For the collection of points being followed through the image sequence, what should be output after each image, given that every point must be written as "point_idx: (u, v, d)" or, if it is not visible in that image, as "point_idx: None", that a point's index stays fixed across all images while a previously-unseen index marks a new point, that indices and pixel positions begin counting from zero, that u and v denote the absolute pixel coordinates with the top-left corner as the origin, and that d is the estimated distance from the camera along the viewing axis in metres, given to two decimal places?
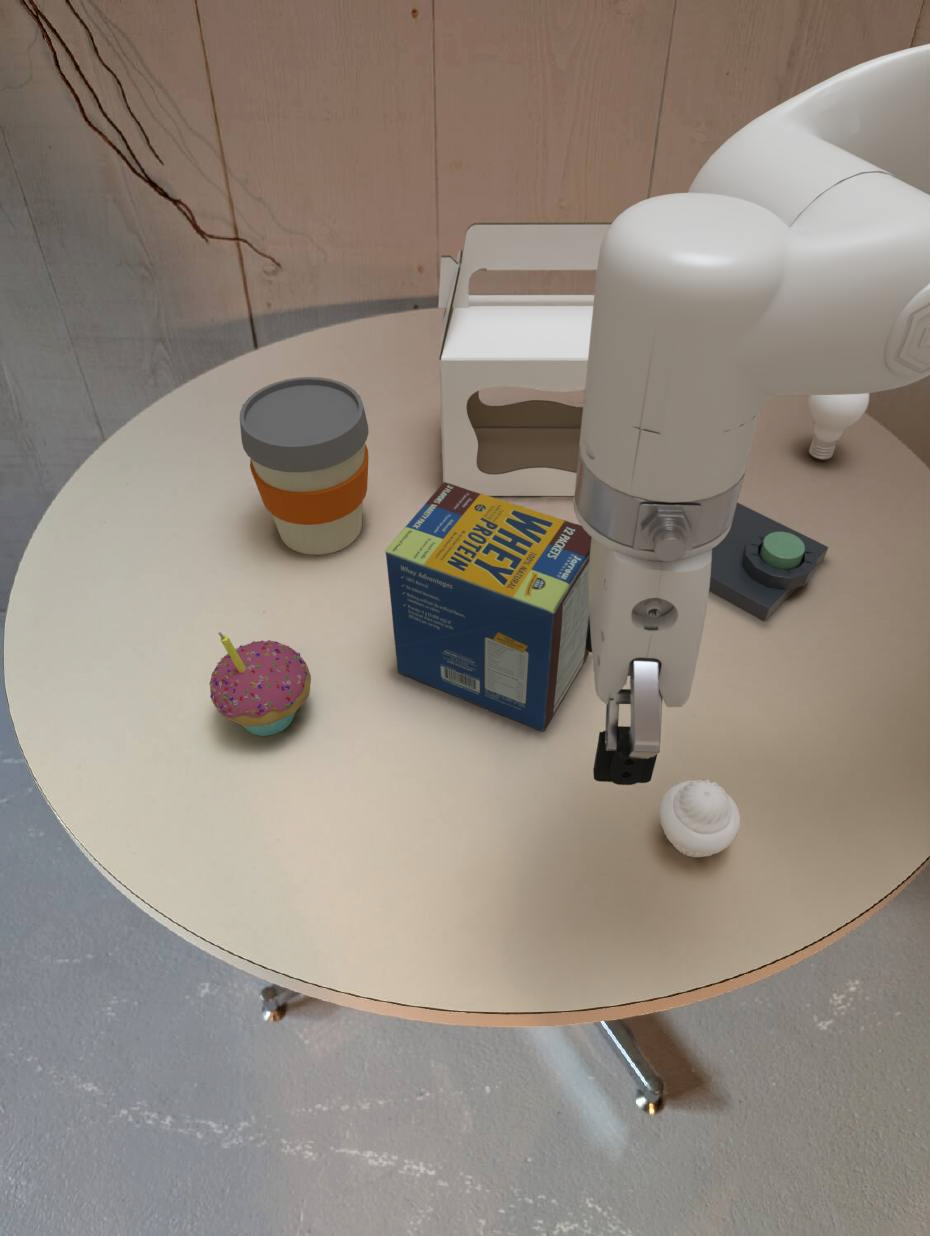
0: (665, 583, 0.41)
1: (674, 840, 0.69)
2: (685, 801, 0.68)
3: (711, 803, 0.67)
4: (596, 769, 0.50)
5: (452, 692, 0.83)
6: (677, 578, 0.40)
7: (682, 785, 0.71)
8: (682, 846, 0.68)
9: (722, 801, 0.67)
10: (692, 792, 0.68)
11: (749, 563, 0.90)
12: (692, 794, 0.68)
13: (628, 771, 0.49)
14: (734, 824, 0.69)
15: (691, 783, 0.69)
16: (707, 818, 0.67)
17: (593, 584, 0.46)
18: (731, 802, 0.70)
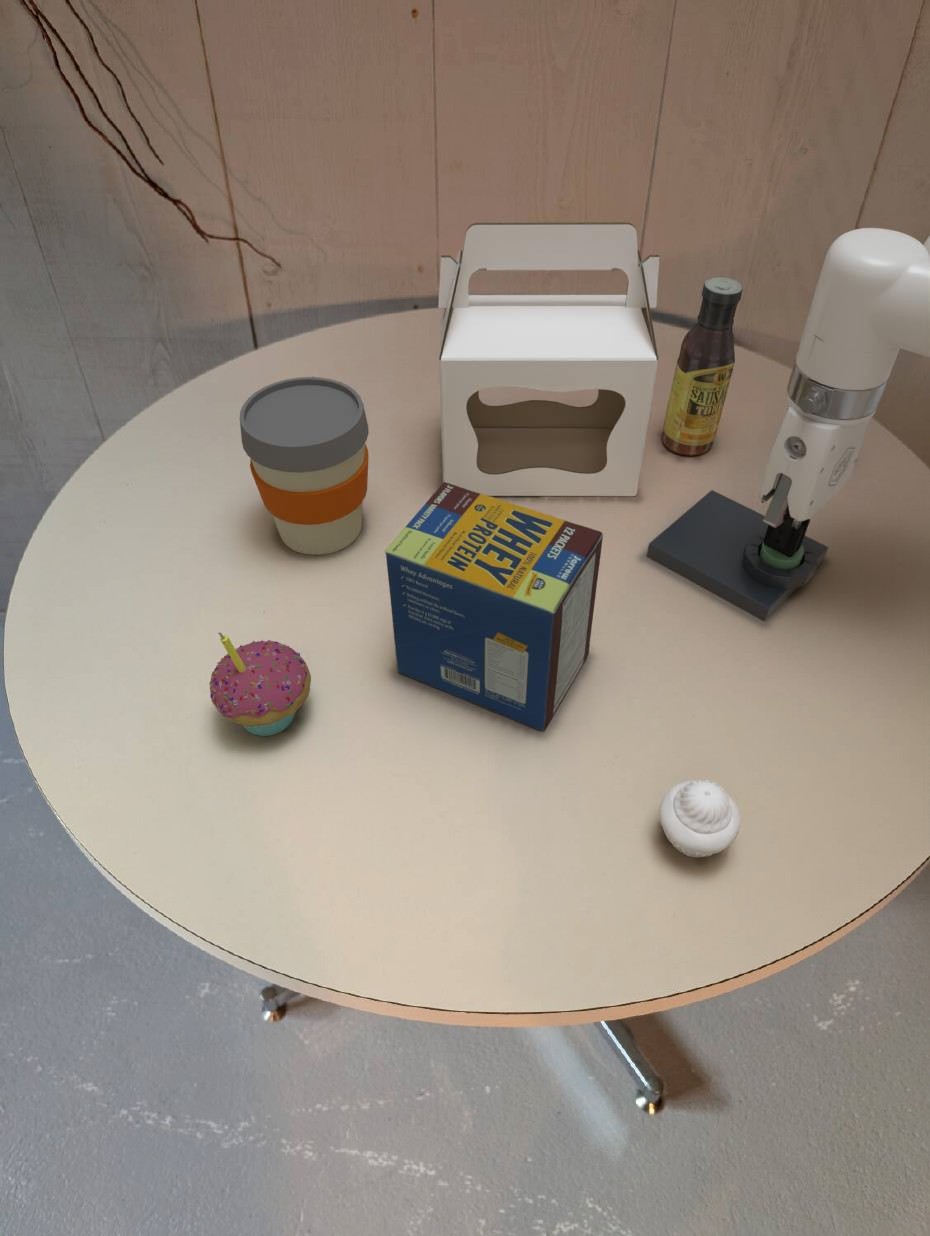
0: (805, 429, 0.76)
1: (674, 840, 0.69)
2: (685, 801, 0.68)
3: (711, 803, 0.67)
4: (766, 535, 0.89)
5: (452, 692, 0.83)
6: (811, 428, 0.75)
7: (682, 785, 0.71)
8: (682, 846, 0.68)
9: (722, 801, 0.67)
10: (692, 792, 0.68)
11: (749, 563, 0.90)
12: (692, 794, 0.68)
13: (779, 538, 0.88)
14: (734, 824, 0.69)
15: (691, 783, 0.69)
16: (707, 818, 0.67)
17: None
18: (731, 802, 0.70)
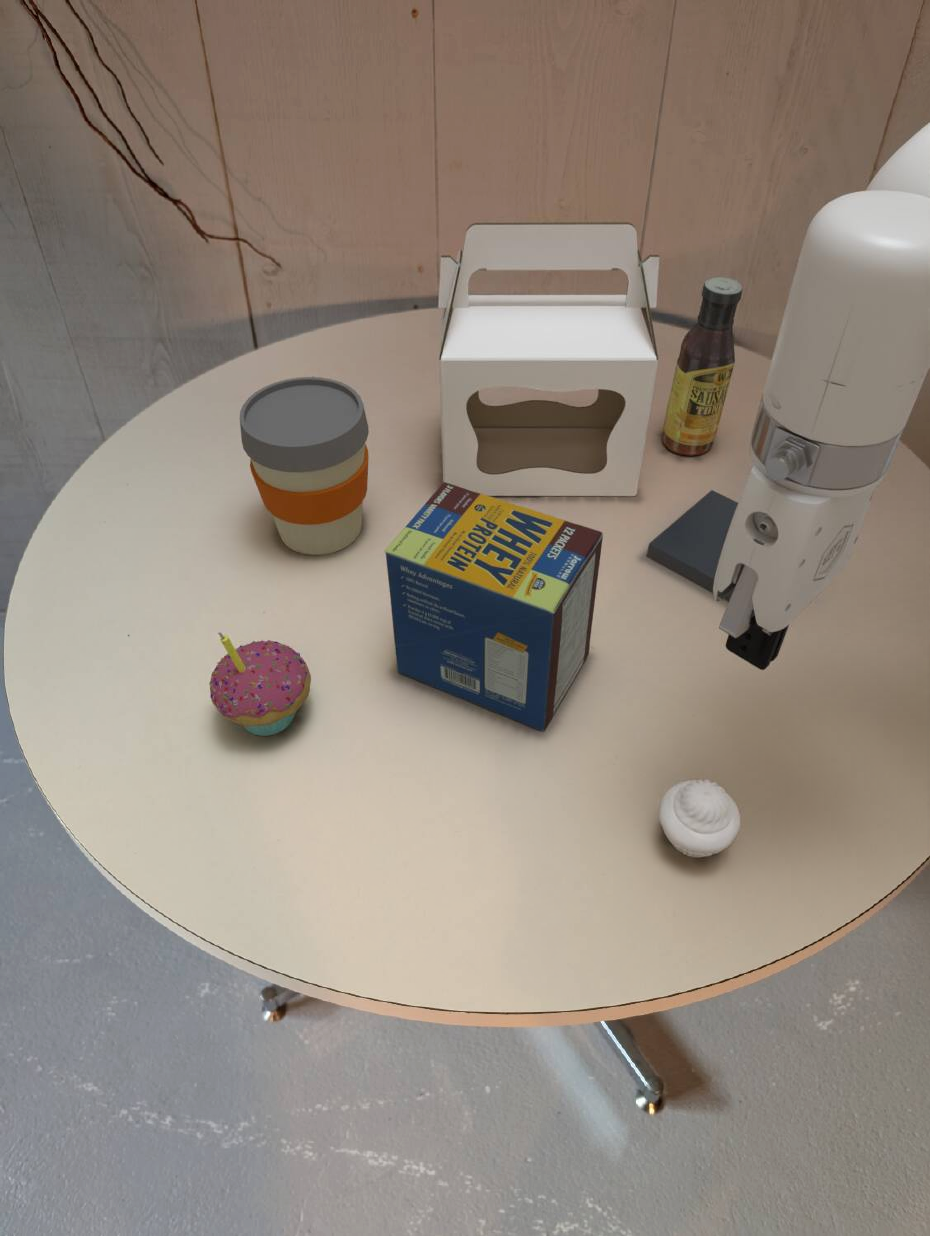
0: (775, 503, 0.49)
1: (674, 840, 0.69)
2: (685, 801, 0.68)
3: (711, 803, 0.67)
4: (728, 637, 0.63)
5: (452, 692, 0.83)
6: (785, 502, 0.49)
7: (682, 785, 0.71)
8: (682, 846, 0.68)
9: (722, 801, 0.67)
10: (692, 792, 0.68)
11: None
12: (692, 794, 0.68)
13: (746, 645, 0.61)
14: (734, 824, 0.69)
15: (691, 783, 0.69)
16: (707, 818, 0.67)
17: None
18: (731, 802, 0.70)
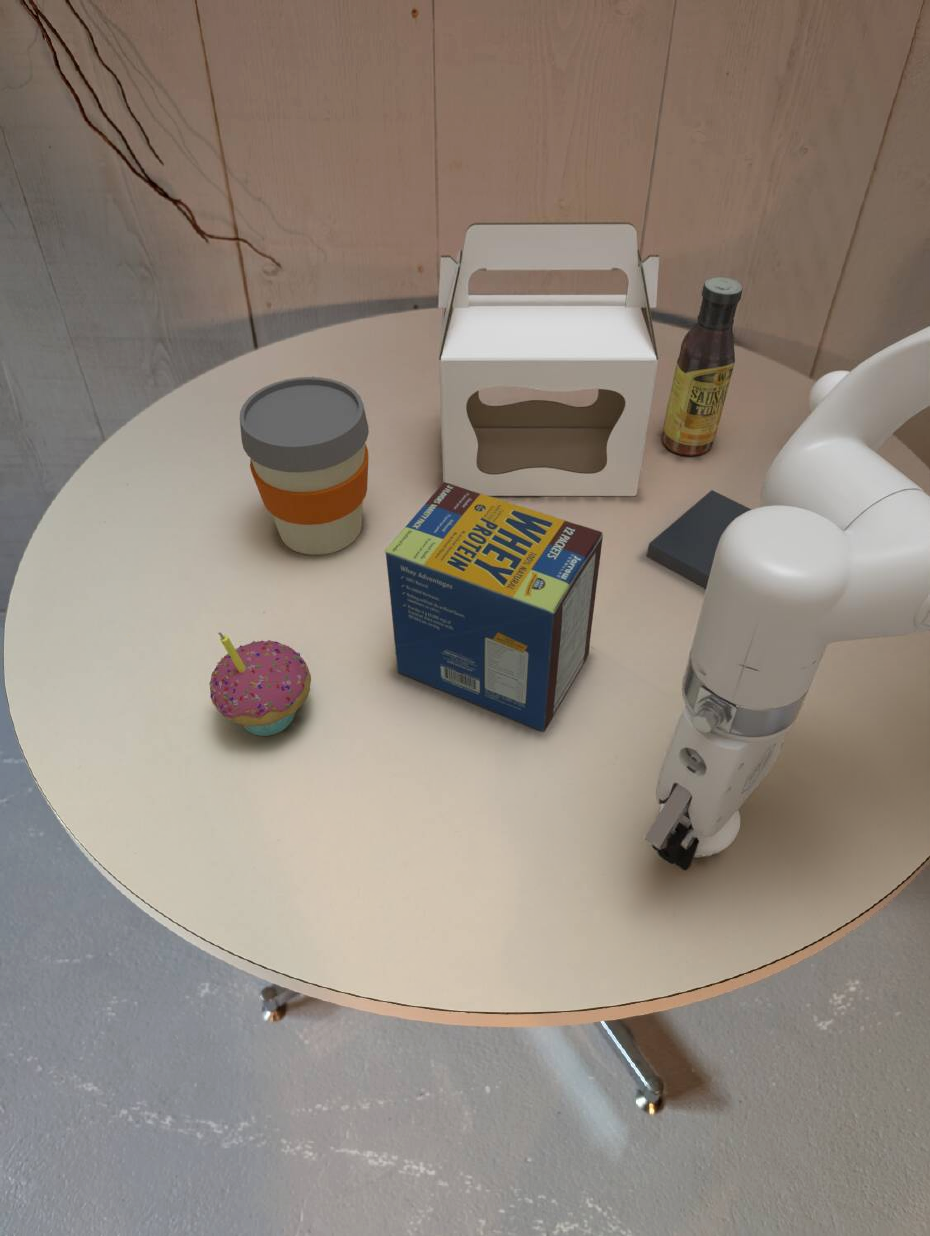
0: (703, 744, 0.57)
1: None
2: None
3: None
4: None
5: (452, 692, 0.83)
6: (710, 746, 0.57)
7: None
8: None
9: None
10: None
11: None
12: None
13: (668, 852, 0.67)
14: (734, 824, 0.69)
15: None
16: None
17: None
18: None
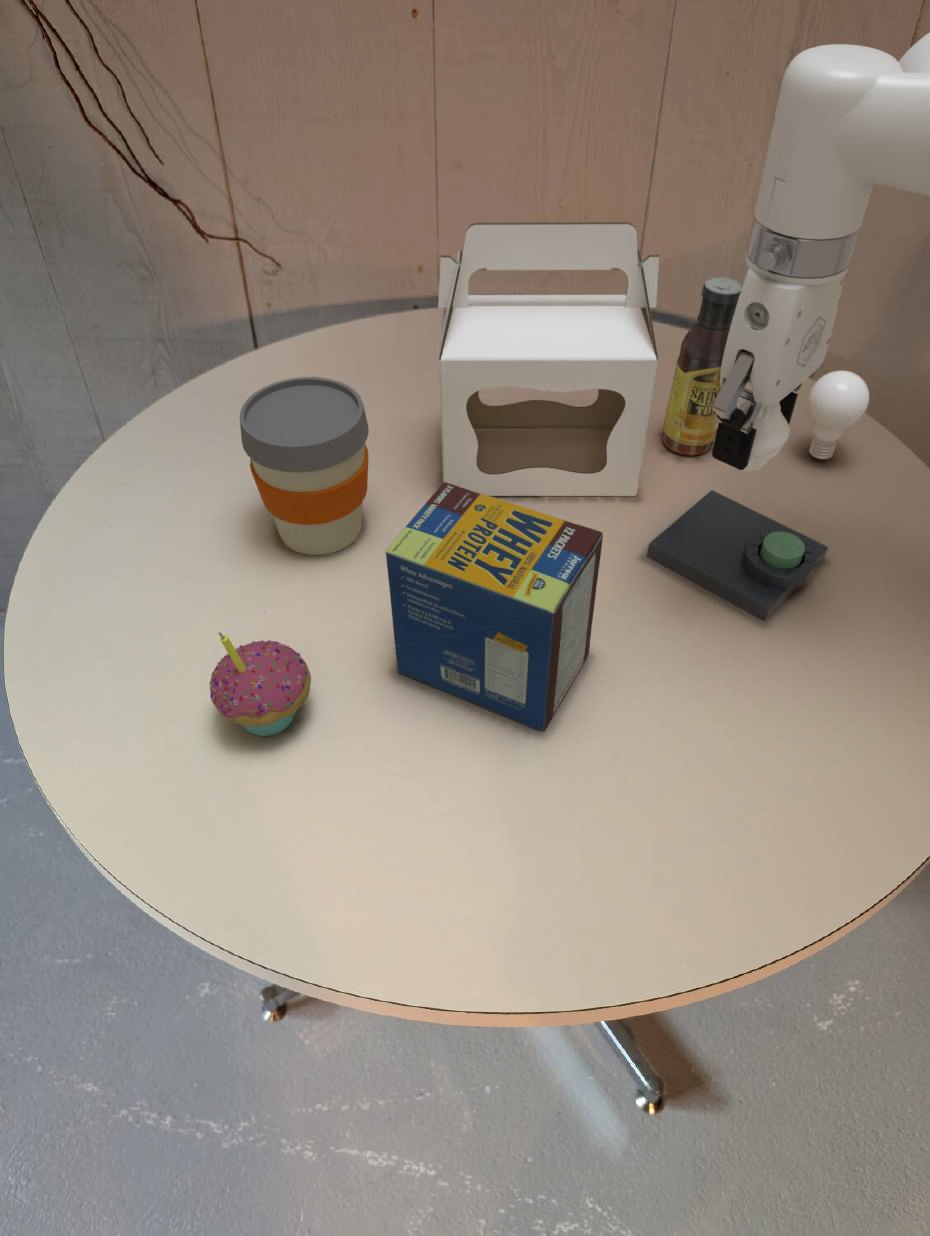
0: (766, 292, 0.66)
1: None
2: (741, 404, 0.77)
3: None
4: (714, 445, 0.78)
5: (452, 692, 0.83)
6: (773, 290, 0.66)
7: None
8: None
9: None
10: None
11: (749, 563, 0.90)
12: None
13: (728, 447, 0.76)
14: (785, 427, 0.77)
15: None
16: (762, 416, 0.76)
17: None
18: None
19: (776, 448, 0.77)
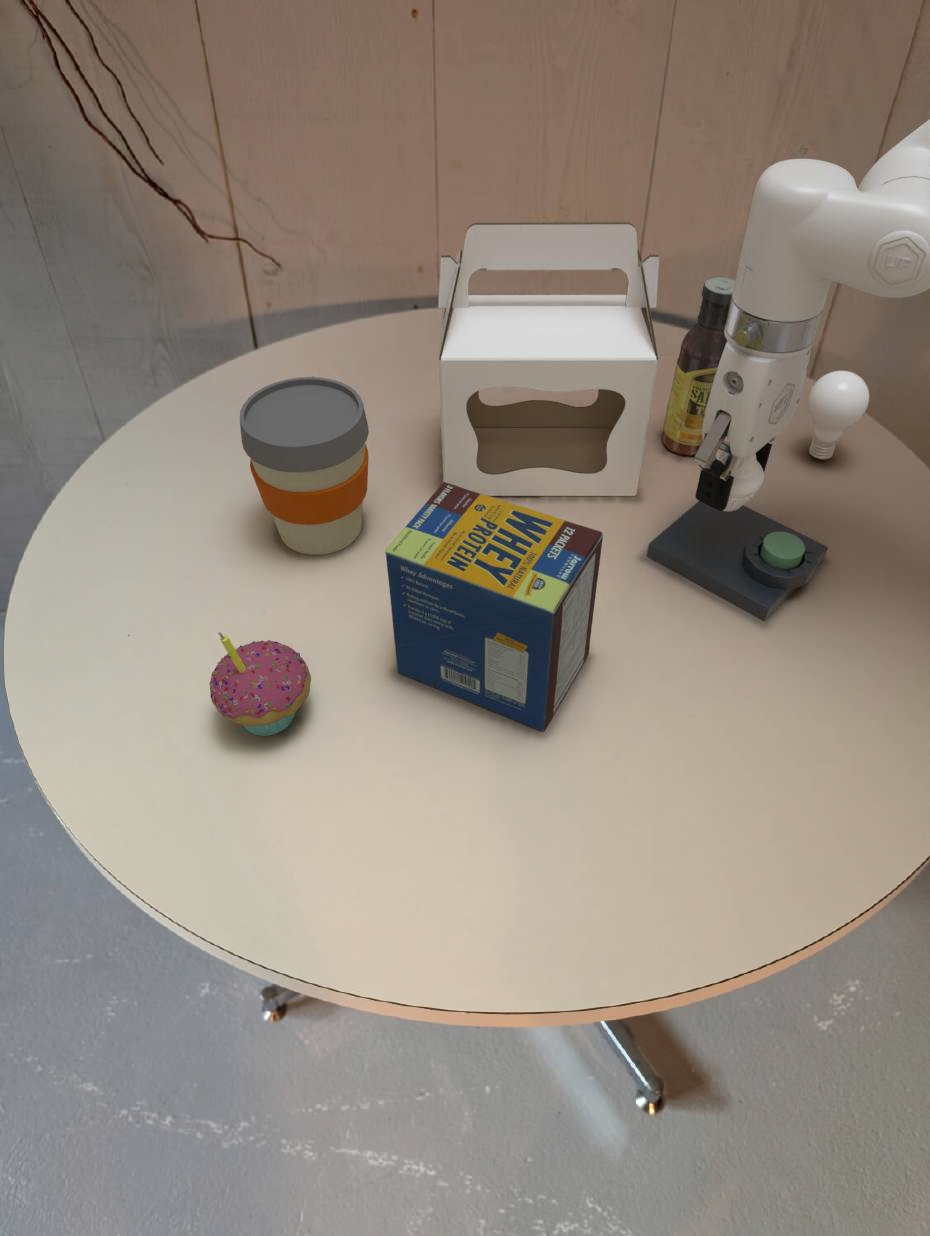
0: (741, 364, 0.77)
1: None
2: (721, 453, 0.87)
3: None
4: (697, 489, 0.88)
5: (452, 692, 0.83)
6: (747, 362, 0.76)
7: None
8: None
9: None
10: None
11: (749, 563, 0.90)
12: None
13: (709, 491, 0.87)
14: (760, 474, 0.88)
15: None
16: (739, 464, 0.86)
17: None
18: None
19: (752, 492, 0.88)
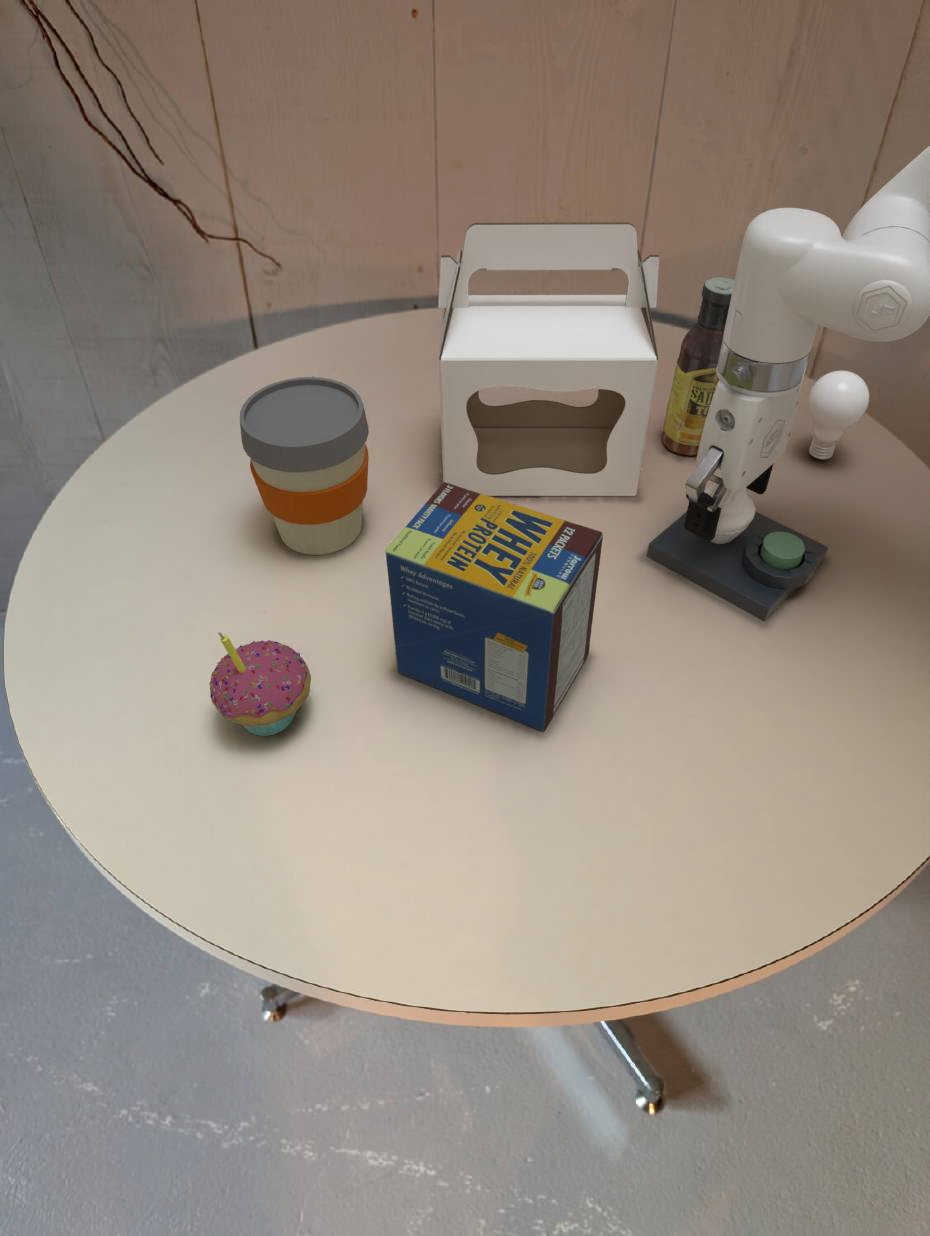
0: (732, 402, 0.79)
1: None
2: (713, 489, 0.90)
3: None
4: (686, 519, 0.90)
5: (452, 692, 0.83)
6: (738, 401, 0.79)
7: None
8: None
9: None
10: None
11: (749, 563, 0.90)
12: None
13: (697, 522, 0.88)
14: (750, 509, 0.91)
15: None
16: (730, 500, 0.90)
17: None
18: None
19: (743, 526, 0.91)
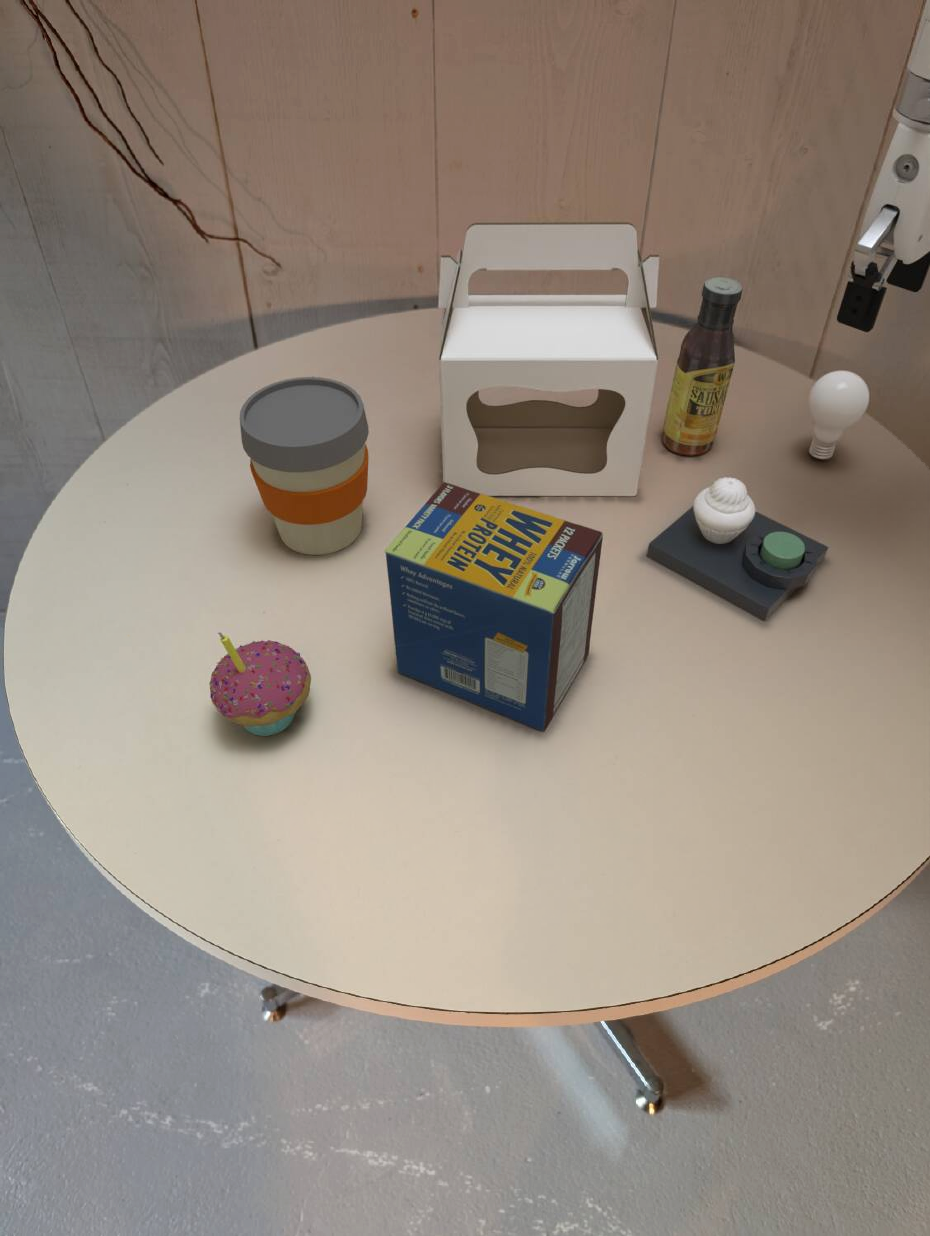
0: (918, 143, 0.69)
1: (705, 521, 0.91)
2: (713, 489, 0.90)
3: (733, 488, 0.90)
4: (840, 309, 0.80)
5: (452, 692, 0.83)
6: (926, 140, 0.69)
7: None
8: (711, 525, 0.91)
9: (741, 488, 0.90)
10: (719, 483, 0.90)
11: (749, 563, 0.90)
12: (719, 484, 0.90)
13: (857, 307, 0.78)
14: (750, 509, 0.91)
15: (718, 479, 0.91)
16: (730, 500, 0.90)
17: None
18: None
19: (743, 526, 0.91)
